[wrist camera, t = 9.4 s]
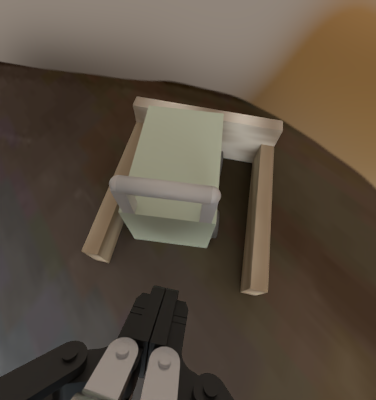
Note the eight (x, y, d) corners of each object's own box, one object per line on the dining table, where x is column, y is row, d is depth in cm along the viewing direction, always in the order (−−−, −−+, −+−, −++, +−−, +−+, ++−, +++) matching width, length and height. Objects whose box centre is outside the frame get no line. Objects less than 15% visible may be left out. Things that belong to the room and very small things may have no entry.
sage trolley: (128, 239, 20) (89, 184, 11) (150, 150, 24) (134, 63, 16) (213, 250, 20) (237, 202, 11) (219, 158, 24) (240, 74, 16)
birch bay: (95, 260, 19) (69, 243, 14) (144, 134, 25) (136, 96, 21) (254, 295, 18) (279, 289, 13) (264, 156, 24) (282, 121, 20)
